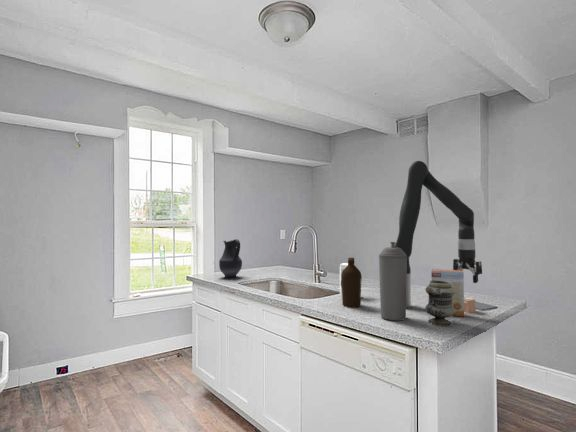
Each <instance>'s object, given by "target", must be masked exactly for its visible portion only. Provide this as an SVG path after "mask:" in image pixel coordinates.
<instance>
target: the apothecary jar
mask: <svg viewBox="0 0 576 432" xmlns="http://www.w3.org/2000/svg"><path fill="white" fill-rule="evenodd" d="M425 292H426V294H427V295H428V303H427V304H426V305H425V307H424V310H425V312H426V313H427V314H428V315H430V316H432V318H429V319H428V320H427V322H428V323H429V324H431V323H432V324H431V325H434V324H435V326H438V325H443V326H442V327H447V326H452V325H453V322H452V321H451V320H449V319H446V318H450V317H454V316H453V315H454V314H455V309H454V307H453V306H452V296H453V295H454V294H455V290H454V289H453V288H452V287H451V283H450V282H448V281H443V280H432V279H431V280H430V281H429V284H428V285H427V286H426V287H425ZM446 325H447V326H446Z"/></svg>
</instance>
